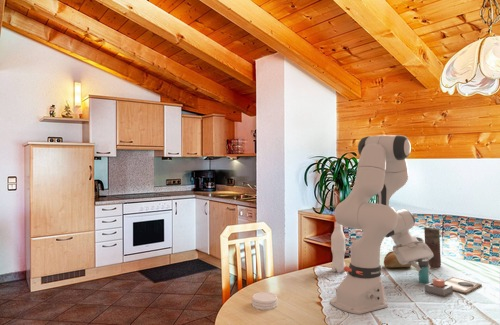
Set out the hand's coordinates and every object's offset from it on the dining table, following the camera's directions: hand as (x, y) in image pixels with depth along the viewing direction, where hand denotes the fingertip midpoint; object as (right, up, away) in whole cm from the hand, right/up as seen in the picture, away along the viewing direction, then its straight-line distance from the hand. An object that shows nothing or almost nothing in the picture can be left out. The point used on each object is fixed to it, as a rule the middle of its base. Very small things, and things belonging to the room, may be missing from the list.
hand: (424, 269), depth 158 cm
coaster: (-74, -7, -22) cm, 77 cm away
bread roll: (-2, -6, +24) cm, 25 cm away
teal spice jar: (0, -6, +1) cm, 6 cm away
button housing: (0, -6, -12) cm, 13 cm away
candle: (+17, -6, +26) cm, 32 cm away
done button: (0, -4, -12) cm, 12 cm away
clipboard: (+13, -6, -5) cm, 15 cm away
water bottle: (-35, -6, +17) cm, 39 cm away
